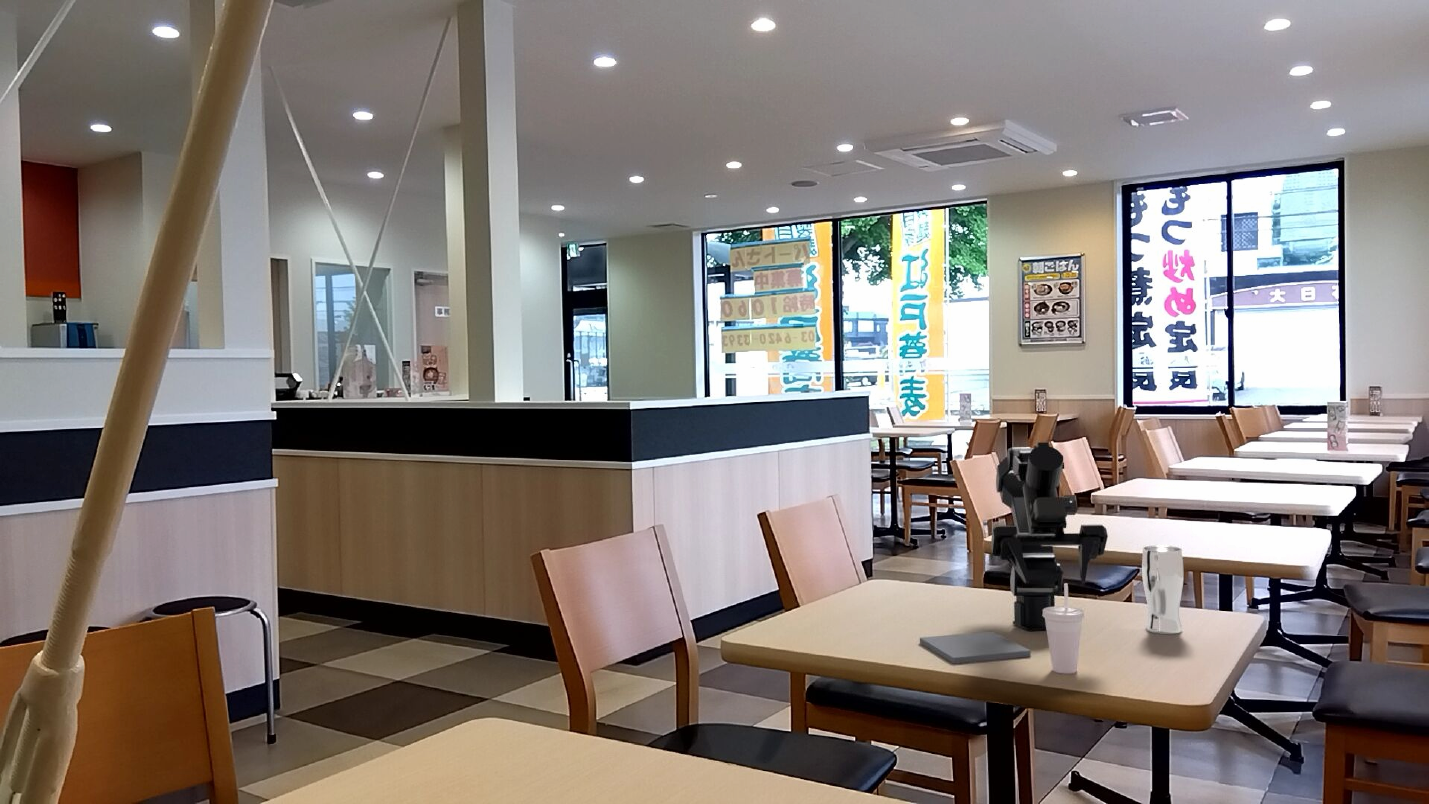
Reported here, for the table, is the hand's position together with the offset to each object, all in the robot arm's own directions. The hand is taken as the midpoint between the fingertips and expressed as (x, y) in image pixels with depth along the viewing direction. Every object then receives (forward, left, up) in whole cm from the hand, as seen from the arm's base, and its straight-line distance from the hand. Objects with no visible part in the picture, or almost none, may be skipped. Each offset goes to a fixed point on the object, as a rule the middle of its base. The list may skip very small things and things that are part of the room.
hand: (1055, 581), depth 175 cm
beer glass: (-28, -11, -13) cm, 32 cm away
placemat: (+10, -10, -13) cm, 19 cm away
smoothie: (+2, +6, -13) cm, 15 cm away
